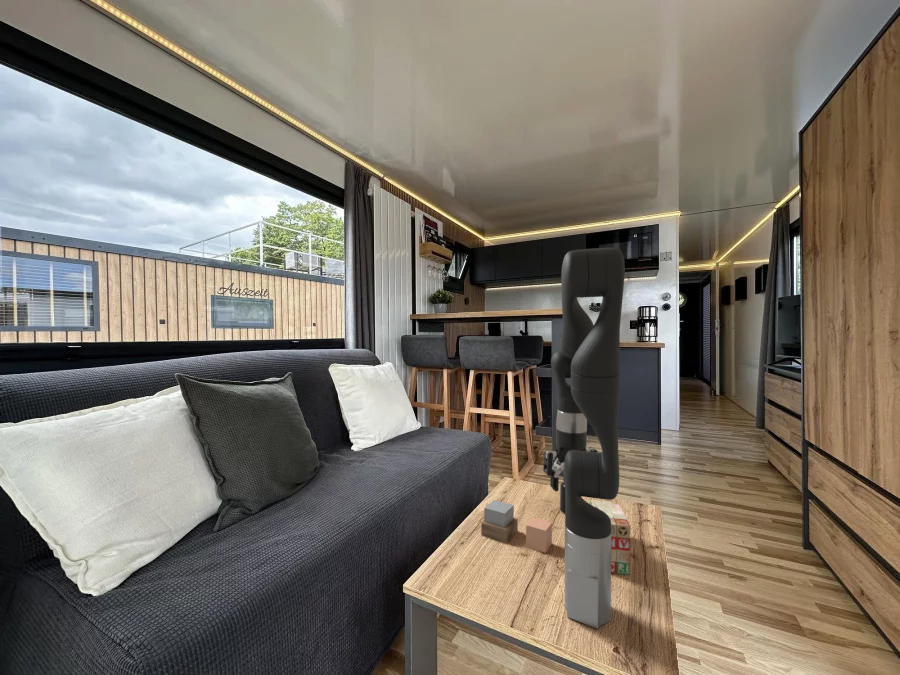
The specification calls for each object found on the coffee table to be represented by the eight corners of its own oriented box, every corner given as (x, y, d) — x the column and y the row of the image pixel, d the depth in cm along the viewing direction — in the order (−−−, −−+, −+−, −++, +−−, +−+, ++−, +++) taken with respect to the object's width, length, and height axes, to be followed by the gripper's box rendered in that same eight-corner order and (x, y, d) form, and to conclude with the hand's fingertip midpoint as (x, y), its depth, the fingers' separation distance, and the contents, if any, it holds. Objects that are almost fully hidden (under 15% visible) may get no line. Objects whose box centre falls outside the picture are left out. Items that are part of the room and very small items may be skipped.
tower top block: (504, 527, 107) (504, 513, 107) (484, 521, 110) (484, 507, 110) (513, 518, 112) (513, 505, 112) (493, 513, 116) (494, 500, 116)
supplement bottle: (562, 505, 130) (562, 470, 130) (582, 509, 127) (583, 474, 127) (558, 513, 124) (558, 477, 124) (579, 518, 121) (580, 480, 121)
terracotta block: (545, 553, 101) (545, 530, 101) (526, 547, 103) (526, 525, 104) (551, 543, 105) (551, 522, 105) (532, 538, 108) (533, 517, 108)
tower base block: (506, 544, 105) (506, 530, 105) (481, 536, 110) (481, 522, 110) (517, 532, 112) (517, 518, 112) (493, 525, 116) (493, 512, 116)
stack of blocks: (589, 530, 113) (590, 489, 113) (612, 532, 112) (612, 491, 112) (603, 572, 92) (603, 522, 92) (630, 576, 91) (630, 525, 91)
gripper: (552, 433, 92) (551, 498, 93) (604, 430, 95) (603, 493, 96) (539, 425, 100) (538, 485, 100) (588, 422, 102) (587, 480, 103)
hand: (570, 488), depth 98 cm, fingers open, 8 cm apart
